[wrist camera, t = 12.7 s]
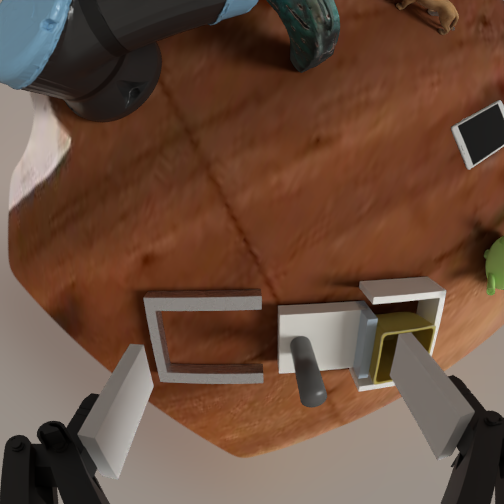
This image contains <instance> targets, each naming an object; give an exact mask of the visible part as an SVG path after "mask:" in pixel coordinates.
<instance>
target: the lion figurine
mask: <svg viewBox="0 0 504 504" xmlns="http://www.w3.org/2000/svg"><path fill="white" fill-rule="evenodd" d="M415 1H416V2H417V3H419V4H420V5H422V6H424V7H426V8H428V13H429V14H430V15H433V16H439V20H440V23H441V25H442V27H443V28H444V29H442V28H440V29H438V30H439V33H440V34H441V35H445V34H447V33H448V32H449V31H450V29H451V30H455V28H454V26H455V24H456V23H457V22H458V13H457V11H456V8H455V7H454V6H453V4H452V3H451V2H450V1H448V0H403V2H401V3H397V4H396V7H397V8H398V9H399V10H402V9H404V8H405V7H407V5H409V4H411V3H414V2H415ZM433 10H435V11H436V12H434V11H433ZM453 19H454V20H453ZM452 20H453V22H452V23H451V21H452ZM450 23H451V25H450ZM449 25H450V26H449Z"/></svg>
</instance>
